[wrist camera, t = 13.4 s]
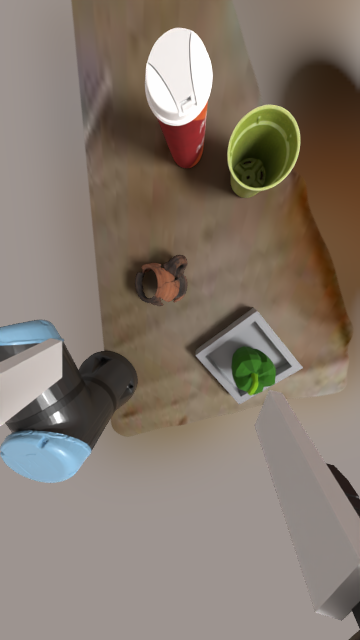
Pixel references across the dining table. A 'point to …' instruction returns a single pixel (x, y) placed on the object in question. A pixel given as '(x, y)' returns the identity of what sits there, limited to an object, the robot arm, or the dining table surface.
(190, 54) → the paper cup
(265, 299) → the dining table surface
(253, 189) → the plant pot
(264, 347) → the gray square tray
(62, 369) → the robot arm
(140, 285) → the pottery mug
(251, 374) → the bell pepper
